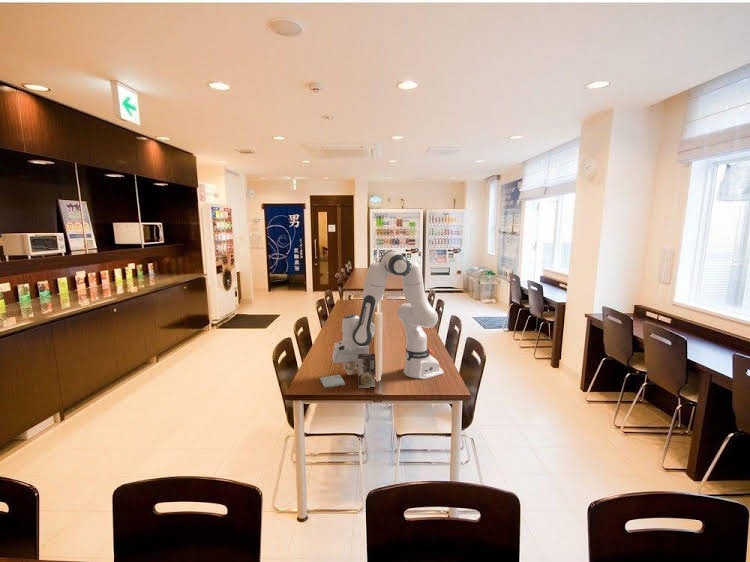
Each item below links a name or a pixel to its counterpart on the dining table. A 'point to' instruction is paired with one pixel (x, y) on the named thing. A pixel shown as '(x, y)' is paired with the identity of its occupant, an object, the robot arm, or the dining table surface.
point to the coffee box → (366, 370)
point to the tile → (332, 381)
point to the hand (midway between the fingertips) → (351, 368)
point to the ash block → (351, 367)
